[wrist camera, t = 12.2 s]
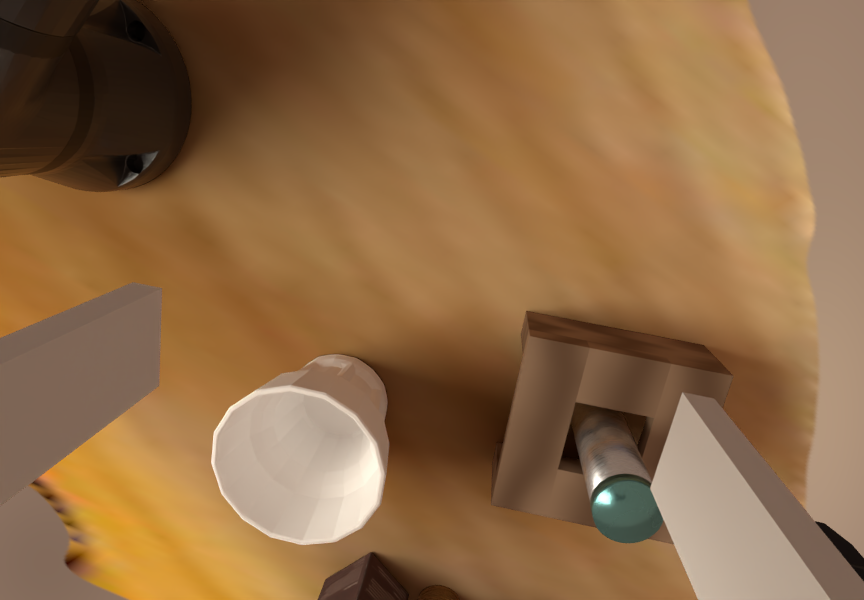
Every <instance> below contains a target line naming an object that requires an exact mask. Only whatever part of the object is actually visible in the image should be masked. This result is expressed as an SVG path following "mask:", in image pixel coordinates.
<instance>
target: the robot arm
mask: <svg viewBox="0 0 864 600" xmlns="http://www.w3.org/2000/svg"><path fill="white" fill-rule="evenodd" d="M190 116H191V91H190V84H189V78H188V74H187V70H186V67H185V64H184V61H183V59H182V56H181V54H180V52H179V50H178V47H177V45H176V44H175V42H174V40H173V38H172V37H171V35H170V34H169V32H168V31H167V30H166V28H165V27H164V26H163V24H162V23H161V22H160V21H159V20H158V19H157V17H156V16H155V15H154V14H153V13H152V12H150V11H149V10H148V9H147V8H146V7H145V6H143V5H142V4H141V3H139V2H138V1H136V0H0V177H7V176H17V175H28V174H30V175H33V176H36V177H40V178H43V179H46V180H49V181H52V182H55V183H58V184H61V185H64V186H67V187H71V188H74V189H78V190H84V191H92V192H107V191H116V190H123V189H129V188H134V187H137V186H140V185H143V184H145V183H147V182H149V181H151V180H153V179H154V178H156V177H157V176H159V175H160V174H161V173H162V172H163V171H165V170H166V169H167V168H168V167H169V165H170V164H171V163H172V162H173V161H174V159H175V158H176V156H177V155H178V153H179V151H180V150H181V147H182V145H183V143H184V141H185V138H186V135H187V132H188V128H189V123H190ZM161 303H162V288H158V287H153V286H148V285H143V284H138V283H131V284H128V285H126V286H123V287H121V288H119V289H116V290H114V291H112V292H109V293H107V294H104V295H102V296H100V297H97V298H95V299H92V300H90V301H88V302H85V303H83V304H81V305H78V306H76V307H73V308H71V309H69V310H66V311H64V312H61V313H59V314H57V315H54V316H52V317H49V318H47V319H45V320H42V321H40V322H38V323H35V324H33V325H30V326H28V327H26V328H23V329H21V330H18V331H16V332H14V333H11V334H9V335H7V336H4V337H2V338H0V506H1V505H3V504H4V503H5V502H7V501H8V500H9V499H10V498H12V497H13V496H14V495H16V494H17V493H18V492H19V491H21V490H22V489H24V488H25V487H26V486H28V485H29V484H30V483H32V482H33V481H34V480H36V479H37V478H38V477H40V476H41V475H42V474H44V473H45V472H46V471H47V470H49V469H50V468H51V467H53V466H54V465H55V464H57V463H58V462H59V461H61V460H62V459H63V458H65V457H66V456H67V455H69V454H70V453H71V452H73V451H74V450H75V449H76V448H78V447H79V446H80V445H82V444H83V443H84V442H86V441H87V440H88V439H90V438H91V437H92V436H94V435H95V434H96V433H98V432H99V431H100V430H101V429H103V428H104V427H105V426H107V425H108V424H109V423H111V422H112V421H113V420H115V419H116V418H117V417H119V416H120V415H121V414H123V413H124V412H125V411H127V410H128V409H129V408H130V407H132V406H133V405H134V404H136V403H137V402H138V401H140V400H141V399H142V398H144V397H145V396H146V395H148V394H149V393H150V392H152V391H153V390H154V389H156V388H157V387H158V386H159V372H160V337H161ZM650 489H651V492H652V494H653V496H654V499H655V501H656V503H657V506H658V508H659V510H660V513H661V515H662V517H663V519H664V522H665V524H666V526H667V529H668V531H669V533H670V536H671V538H672V540H673V543H674V545H675V547H676V550H677V552H678V554H679V557H680V559H681V561H682V563H683V566H684V568H685V570H686V573H687V575H688V577H689V580H690V582H691V584H692V587H693V589H694V591H695V594H696V596H697V598H698V600H864V558H863V557H862V556H861V555H860V553H859V552H858V551H857V550H856V549H855V548H854V546H853V545H852V544H850V543H849V542H848V541H846V540H845V539H844V538H843V537H841V536H840V535H839V534H837V533H836V532H835V531H834V530H832V529H831V528H830V527H828V526H827V525H826V524H824V523H820V522H816V521H814V520H813V519H812V518H811V516H810V515H809V514H808V513H807V511H806V510H805V509H804V508H803V507H802V505H801V504H800V503H799V502H798V500H797V499H796V498H795V497H794V496H793V494H792V493H791V492H790V491H789V489H788V488H787V487H786V486H785V485H784V483H783V482H782V481H781V480H780V478H779V477H778V476H777V475H776V473H775V472H774V471H773V470H772V469H771V467H770V466H769V465H768V464H767V462H766V461H765V460H764V459H763V458H762V456H761V455H760V454H759V453H758V451H757V450H756V449H755V448H754V447H753V445H752V444H751V443H750V442H749V440H748V439H747V438H746V437H745V436H744V434H743V433H742V432H741V431H740V429H739V428H738V427H737V426H736V424H735V423H734V422H733V421H732V420H731V418H730V417H729V416H728V415H727V413H726V412H725V411H724V410H723V409H722V407H721V406H720V405H719V404H718V402H717V401H716V400H715V399H714V398H709V397H704V396H699V395H694V394H689V393H684V392H682V395H681V398H680V401H679V404H678V407H677V410H676V413H675V416H674V419H673V422H672V425H671V428H670V431H669V434H668V437H667V440H666V443H665V446H664V449H663V452H662V454H661V457H660V460H659V463H658V466H657V469H656V472H655V475H654V478H653V481H652V484H651V487H650Z"/></svg>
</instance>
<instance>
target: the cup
mask: <svg viewBox="0 0 864 600" xmlns="http://www.w3.org/2000/svg"><path fill="white" fill-rule="evenodd" d="M387 404H388V400H387V395H386V390H385V386H384V384H383V382H382V381H381V379H380V378H379V376H378V375H377V374H376V373H375V372H374V370H373V369H372V368H370V367H369V366H368V365H366V364H365V363H364V362H362V361H360V360H359V359H357V358H355V357H350V356H346V355H340V354H333V355H325V356H319V357H317V358H316V359H314V360H312V361H311V362H310V363H308V364H307V365H305V366H304V367H303V368H302V369H300V370H298V371H296V372H289V373H282V374H280V375H279V376H277V377H276V378H274V379H273V380H271V381H269V382H268V383H266V384H265V385H263V386H262V387H260V388H259V389H257V390H255V391H254V392H252V393H251V394H249V395H248V396H246V397H245V398H243V399H241V400H240V401H238V402H237V403H235V404H234V405H232V406H231V407H229V409H228V411H227V412H226V414H225V416H224V417H223V419H222V420H221V422H220V424H219V425H218V427H217V428H216V430H215V432H214V437H213V449H212V462H211V463H212V466H213V470H214V473H215V476H216V479H217V482H218V485H219V488H220V491H221V494H222V495H223V496H224V497H225V499H226V500H227V501H228V502H229V504H230V505H231V506H232V507H233V508H234V510H235V511H236V512H237V513H238V514H239V516H240V517H241V518H242V519H243V520H244V521H246V522H248V523H249V524H251V525H252V526H254V527H255V528H257V529H259V530H260V531H262V532H263V533H265V534H266V535H268V536H269V537H272V538H276V539H280V540H284V541H288V542H292V543H297V544H301V545H308V544H319V543H331V542H337V541H338V540H340V539H342V538H344V537H346V536H348V535H350V534H352V533H353V532H355V531H357V530H359V529H361V528H363V526H364V525H365V524H366V523H367V521H368V520H369V519H370V517H371V516H372V515H373V514H374V512H375V511H376V510H377V508H378V507H379V506H380V505H381V501H382V495H383V490H384V484H385V479H386V473H387V463H388V452H389V440H388V436H387V431H386V427H385V423H384V420H385V416H386V411H387Z"/></svg>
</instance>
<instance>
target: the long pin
mask: <svg viewBox="0 0 864 600" xmlns="http://www.w3.org/2000/svg"><path fill="white" fill-rule="evenodd" d="M571 425H572V429H573V433H574V437H575V441H576V446H577V450H578V454H579V458H580V462H581V466H582V470H583V475H584V479H585V483H586V487H587V491H588V495H589V500H590V507H591V511H592V516H593V520H594V523H595V525H596V527H597V528H598V530H599V531H600V532H601V533H602V534H603V535H605V536H606V537H607V538H609V539H611V540H614V541H617V542H621V543H636V542H640V541H643V540H646V539H648V538H649V537H651V536H652V535H654V534H655V533H656V532H657V531H658V530H659V528H660V527H661V525H662V523H663V520H664V519H663V517H662V515H661V513H660V510H659V508H658V506H657V503H656V501H655V499H654V496H653V494H652V492H651V489H650V487H651V484H652V480H651V478H650V475H649V473H648V471H647V469H646V466H645V464H644V462H643V459H642V457H641V455H640V453H639V450H638V448H637V446H636V443H635V441H634V439H633V436H632V434H631V432H630V430H629V427H628V425H627V423H626V420H625V418H624V416H623V413H622V411H617V410H613V409H608V408H603V407H598V406H593V405H588V404H583V403H578V402H576V403H575V406H574V410H573V414H572V418H571Z"/></svg>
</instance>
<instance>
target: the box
mask: <svg viewBox="0 0 864 600" xmlns="http://www.w3.org/2000/svg"><path fill="white" fill-rule="evenodd" d="M408 597H409V594H408V593H407V592H406V591H405V590H404V589H403V588H402V586H401V585H400V584H399V583H398V582H397V581H396V580H395V579H394V577H393V576H392V575H391V574H390V573H389V572H388V571H387V569H386V568H385V567H384V566H383V565H382V564H381V563H380V562H379V560H378V559H377V558H376V557H375V556H374V555H373V553H369V554H367V555H365V556H364V557H362V558H360V559H359V560H357V561H355V562H354V563H352V564H350V565H349V566H347V567H345V568H344V569H342V570H340V571H339V572H337V573H335V574H334V575H332V576H330V577H329V578H327V579H326V580H325V582H324V585H323V588H322V590H321V593H320V595H319V598H318V600H408Z"/></svg>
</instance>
